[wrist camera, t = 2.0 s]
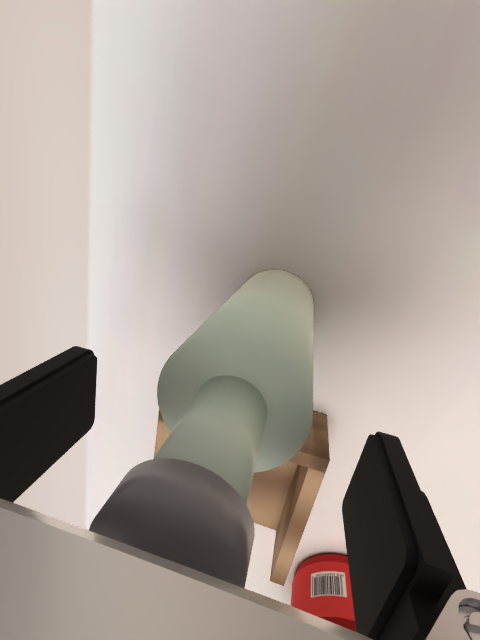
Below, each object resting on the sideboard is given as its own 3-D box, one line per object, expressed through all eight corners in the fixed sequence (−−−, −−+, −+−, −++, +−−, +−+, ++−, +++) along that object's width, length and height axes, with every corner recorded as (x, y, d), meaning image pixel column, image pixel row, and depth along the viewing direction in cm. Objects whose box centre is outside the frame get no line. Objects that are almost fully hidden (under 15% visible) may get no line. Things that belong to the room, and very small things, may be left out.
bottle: (244, 261, 21) (30, 406, 5) (323, 279, 20) (353, 513, 4) (231, 332, 23) (42, 600, 7) (302, 351, 22) (272, 699, 6)
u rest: (186, 374, 25) (159, 407, 20) (326, 415, 23) (329, 460, 19) (170, 486, 29) (145, 534, 25) (288, 527, 27) (283, 585, 23)
